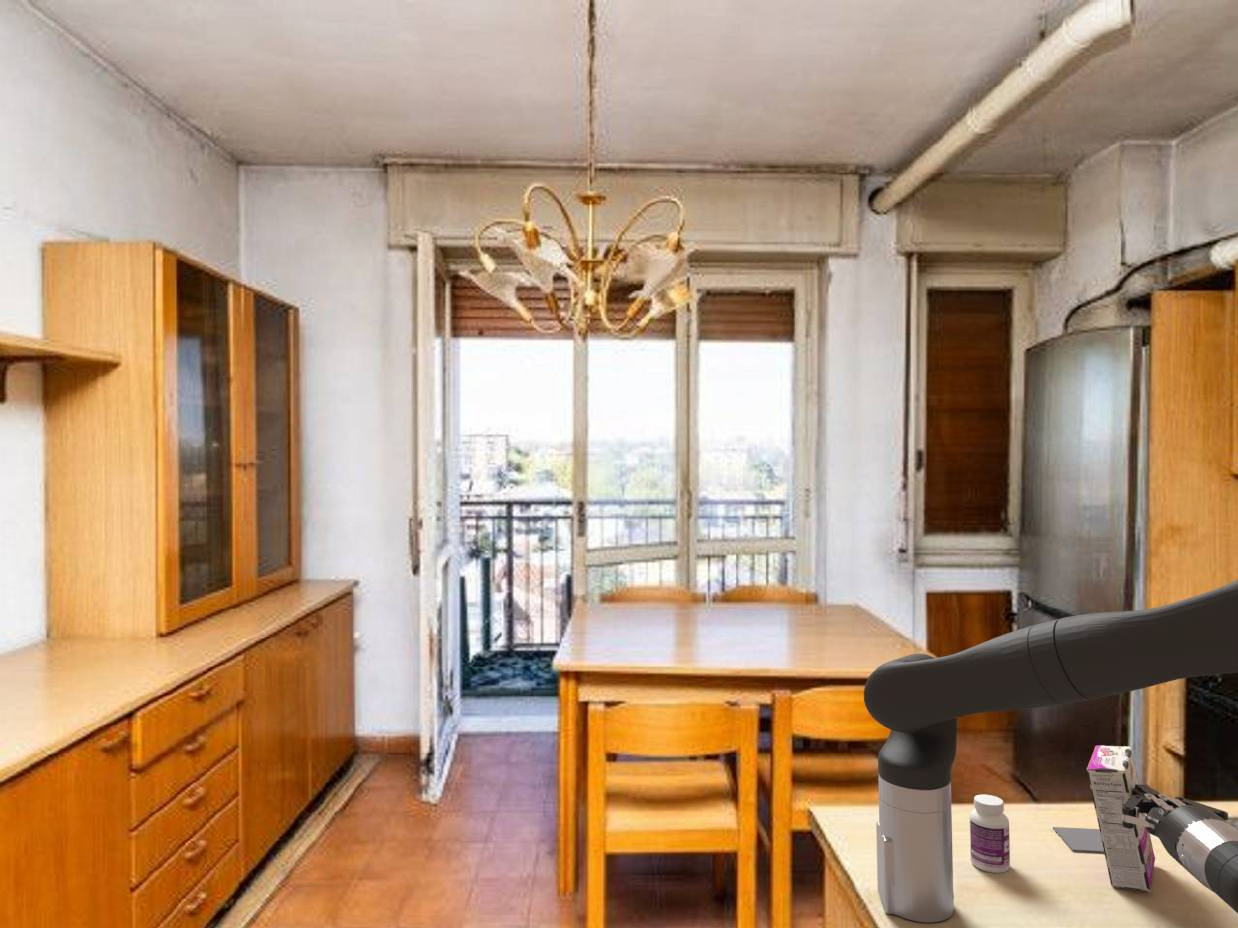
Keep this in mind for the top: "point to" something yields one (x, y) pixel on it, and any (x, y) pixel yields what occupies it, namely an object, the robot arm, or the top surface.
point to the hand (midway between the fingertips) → (1140, 791)
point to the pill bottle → (989, 835)
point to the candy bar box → (1120, 818)
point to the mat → (1081, 839)
